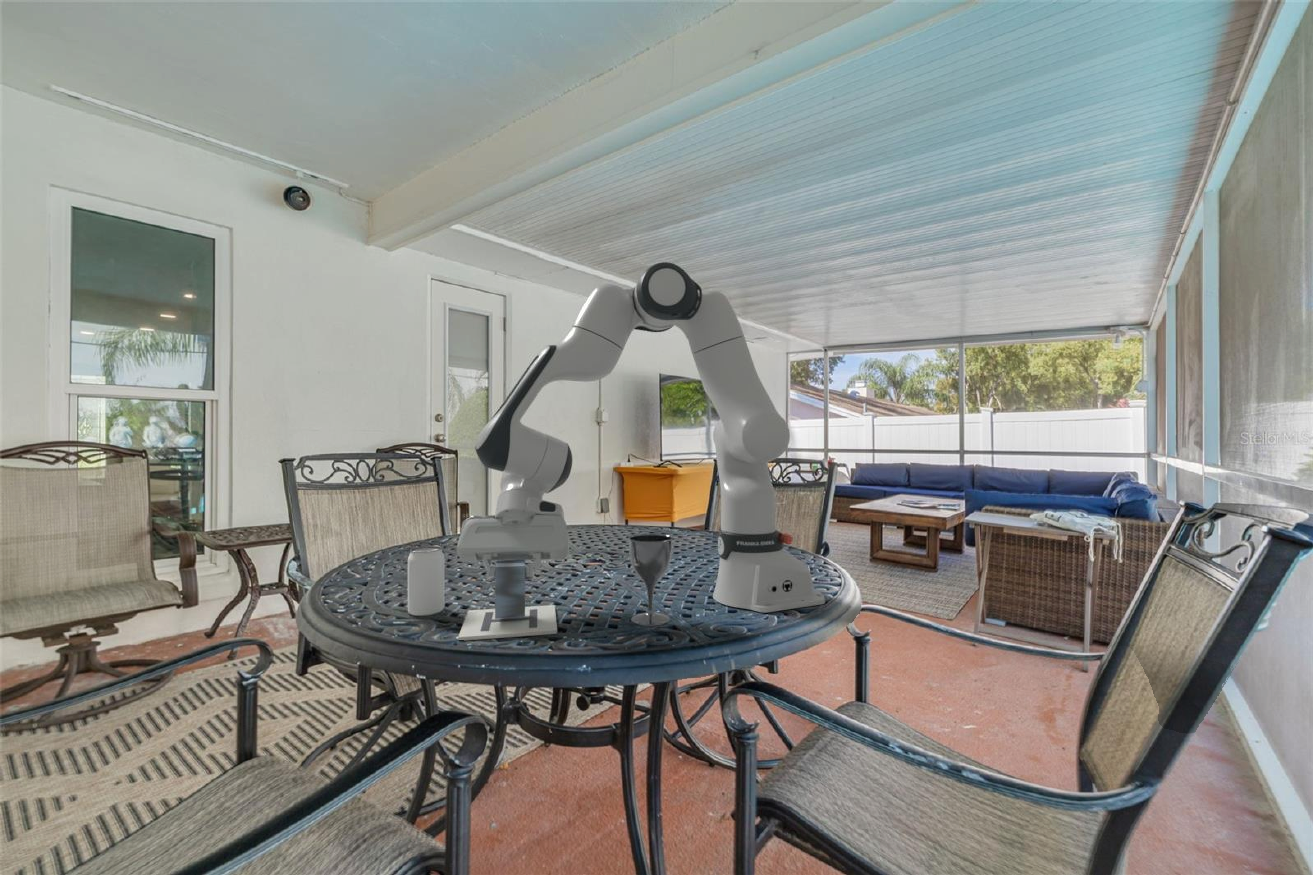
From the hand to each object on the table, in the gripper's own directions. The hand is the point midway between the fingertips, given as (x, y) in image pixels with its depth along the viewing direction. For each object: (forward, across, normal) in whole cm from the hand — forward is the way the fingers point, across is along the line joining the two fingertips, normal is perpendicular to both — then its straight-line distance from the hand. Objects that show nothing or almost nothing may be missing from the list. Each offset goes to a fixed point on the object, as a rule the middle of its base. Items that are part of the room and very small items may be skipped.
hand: (510, 578), depth 99 cm
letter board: (+5, 0, +6) cm, 8 cm away
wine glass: (+6, +25, +6) cm, 26 cm away
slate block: (+4, 0, +5) cm, 6 cm away
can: (0, -17, +12) cm, 21 cm away
